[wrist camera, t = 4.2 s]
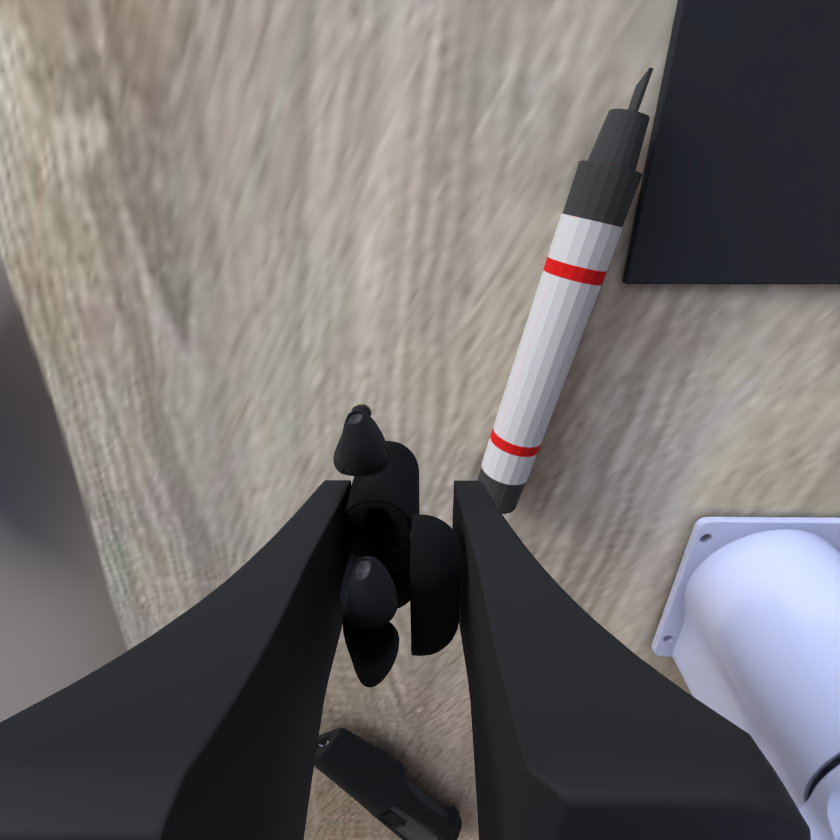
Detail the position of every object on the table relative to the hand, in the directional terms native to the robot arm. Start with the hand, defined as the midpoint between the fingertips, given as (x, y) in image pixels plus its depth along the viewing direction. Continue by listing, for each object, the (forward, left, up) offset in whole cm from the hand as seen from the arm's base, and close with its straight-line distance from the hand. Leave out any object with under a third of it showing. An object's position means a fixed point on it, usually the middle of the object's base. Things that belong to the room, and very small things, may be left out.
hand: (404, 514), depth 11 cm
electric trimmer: (-30, +2, -8) cm, 31 cm away
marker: (+2, -5, -8) cm, 10 cm away
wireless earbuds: (0, 0, -2) cm, 2 cm away
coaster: (+8, -12, -8) cm, 17 cm away
